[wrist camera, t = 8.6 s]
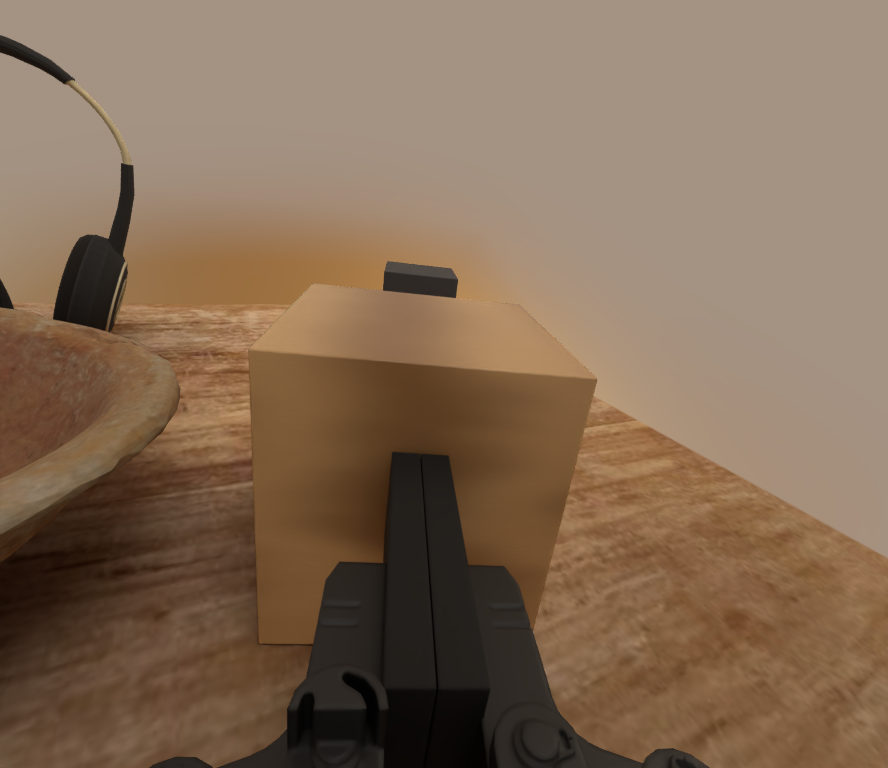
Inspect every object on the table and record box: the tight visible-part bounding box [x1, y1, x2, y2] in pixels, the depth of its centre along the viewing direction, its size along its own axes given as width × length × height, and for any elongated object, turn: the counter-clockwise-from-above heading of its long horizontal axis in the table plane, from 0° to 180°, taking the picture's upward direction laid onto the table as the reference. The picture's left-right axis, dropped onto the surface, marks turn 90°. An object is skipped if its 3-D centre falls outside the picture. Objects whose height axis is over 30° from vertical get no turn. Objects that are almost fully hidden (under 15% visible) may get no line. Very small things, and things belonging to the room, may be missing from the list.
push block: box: [248, 284, 597, 644], centre depth 18 cm, size 9×9×10 cm
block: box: [383, 261, 458, 298], centre depth 49 cm, size 7×7×7 cm
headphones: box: [0, 35, 134, 333], centre depth 32 cm, size 9×15×20 cm, turn 117°
